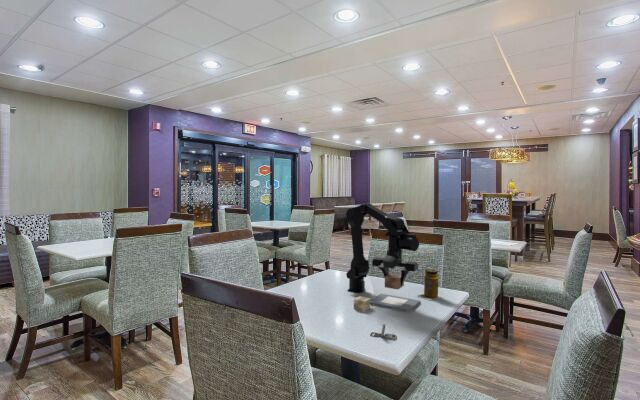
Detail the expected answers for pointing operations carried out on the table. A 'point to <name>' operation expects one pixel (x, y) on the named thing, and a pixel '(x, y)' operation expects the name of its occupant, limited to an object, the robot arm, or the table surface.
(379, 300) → the board
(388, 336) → the strap clip
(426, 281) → the condiment
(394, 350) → the table surface
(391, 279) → the walnut block
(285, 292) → the table surface
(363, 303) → the birch cube
